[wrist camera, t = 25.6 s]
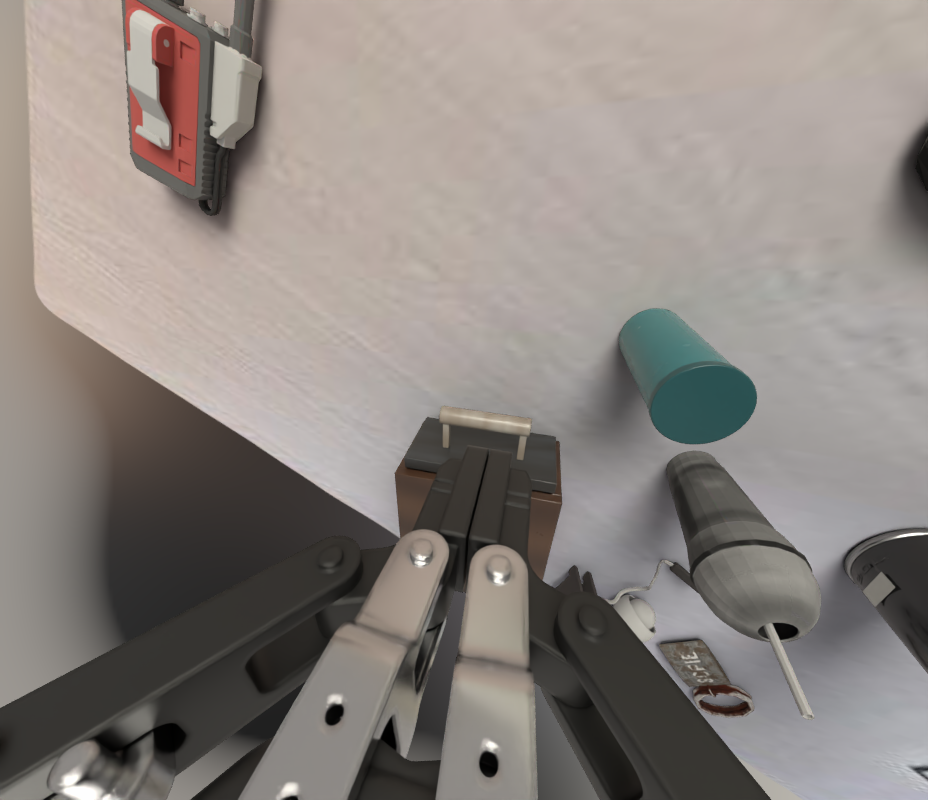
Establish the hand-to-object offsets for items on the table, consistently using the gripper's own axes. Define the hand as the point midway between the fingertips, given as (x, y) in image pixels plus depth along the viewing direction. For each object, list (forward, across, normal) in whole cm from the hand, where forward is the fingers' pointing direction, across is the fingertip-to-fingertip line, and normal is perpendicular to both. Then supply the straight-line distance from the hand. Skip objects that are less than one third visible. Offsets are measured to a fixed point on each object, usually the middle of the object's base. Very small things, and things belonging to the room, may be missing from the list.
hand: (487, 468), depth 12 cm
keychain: (+22, -33, +51) cm, 65 cm away
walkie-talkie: (+22, +26, -16) cm, 37 cm away
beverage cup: (+22, -18, +15) cm, 32 cm away
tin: (+22, -11, +2) cm, 24 cm away
